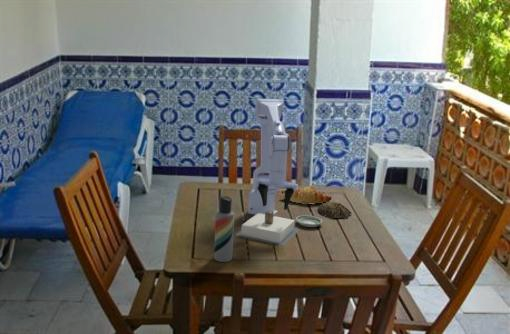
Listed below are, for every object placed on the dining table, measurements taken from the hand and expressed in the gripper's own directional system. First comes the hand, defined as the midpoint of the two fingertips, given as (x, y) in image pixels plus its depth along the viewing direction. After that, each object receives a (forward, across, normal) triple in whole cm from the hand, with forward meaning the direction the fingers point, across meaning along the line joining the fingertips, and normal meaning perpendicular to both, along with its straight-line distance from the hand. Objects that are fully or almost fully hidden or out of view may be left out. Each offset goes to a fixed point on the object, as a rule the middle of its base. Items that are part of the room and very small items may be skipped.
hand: (275, 207), depth 191 cm
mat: (+10, -2, -1) cm, 10 cm away
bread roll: (+10, +16, +30) cm, 36 cm away
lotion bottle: (+10, -8, -28) cm, 30 cm away
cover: (+9, -2, -1) cm, 9 cm away
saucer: (+10, +10, +13) cm, 19 cm away
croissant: (+10, +2, +40) cm, 41 cm away
